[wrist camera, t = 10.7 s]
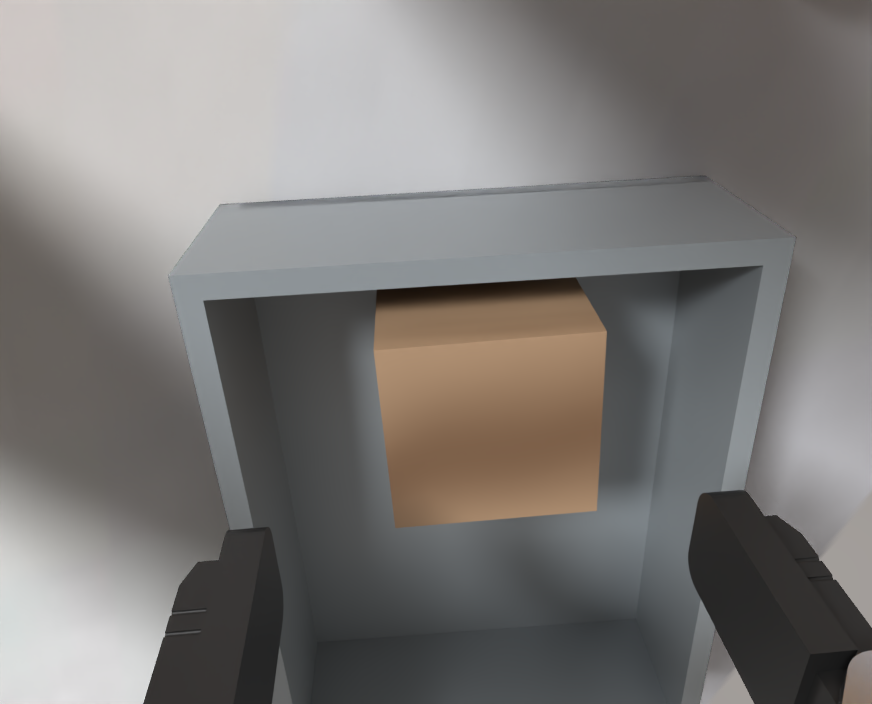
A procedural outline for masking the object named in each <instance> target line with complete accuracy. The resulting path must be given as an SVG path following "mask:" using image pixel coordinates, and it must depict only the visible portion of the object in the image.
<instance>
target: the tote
mask: <svg viewBox="0 0 872 704" xmlns="http://www.w3.org/2000/svg"><path fill="white" fill-rule="evenodd" d="M795 241H796V237H795V236H794V235H792V234H791V233H789V232H788V231H787V230H785V229H784V228H782V227H781V226H779V225H778V224H776V223H775V222H773V221H772V220H770V219H769V218H767V217H766V216H764V215H763V214H761V213H760V212H759V211H757V210H756V209H754V208H753V207H751V206H750V205H748V204H747V203H745V202H744V201H742V200H741V199H739V198H738V197H736V196H735V195H733V194H732V193H730V192H729V191H728V190H726V189H725V188H723V187H722V186H720V185H719V184H717V183H716V182H714V181H713V180H711V179H710V178H708V177H707V176H690V177H673V178H657V179H640V180H623V181H606V182H589V183H573V184H556V185H539V186H522V187H505V188H489V189H472V190H455V191H438V192H421V193H405V194H388V195H371V196H354V197H337V198H321V199H304V200H287V201H270V202H253V203H237V204H220V205H219V206H218V208H217V209H216V210H215V212H214V213H213V215H212V216H211V217H210V219H209V220H208V221H207V223H206V224H205V226H204V227H203V228H202V230H201V231H200V233H199V234H198V235H197V237H196V238H195V239H194V241H193V242H192V244H191V245H190V246H189V248H188V249H187V251H186V252H185V253H184V255H183V256H182V257H181V259H180V260H179V262H178V263H177V264H176V266H175V267H174V269H173V270H172V271H171V273H170V274H169V275H168V278H169V282H170V286H171V290H172V294H173V298H174V302H175V306H176V310H177V315H178V319H179V323H180V327H181V331H182V335H183V339H184V343H185V347H186V352H187V356H188V360H189V364H190V368H191V372H192V376H193V380H194V384H195V389H196V393H197V397H198V401H199V405H200V409H201V413H202V417H203V421H204V426H205V430H206V434H207V438H208V442H209V446H210V450H211V454H212V458H213V462H214V467H215V471H216V475H217V479H218V483H219V487H220V491H221V495H222V499H223V504H224V508H225V512H226V516H227V520H228V524H229V528H230V530H235V529H248V528H260V527H269V528H270V529H271V532H272V536H273V542H274V547H275V552H276V557H277V562H278V567H279V572H280V577H281V582H282V589H283V604H284V607H283V623H282V631H281V638H280V646H279V654H278V661H277V669H276V676H275V684H274V691H273V699H272V704H700V700H701V696H702V691H703V686H704V681H705V676H706V671H707V667H708V662H709V657H710V652H711V647H712V642H713V638H714V633H715V626H714V624H713V622H712V620H711V618H710V616H709V614H708V612H707V610H706V608H705V606H704V604H703V602H702V600H701V599H700V597H699V595H698V593H697V591H696V589H695V587H694V585H693V582H692V579H691V575H690V571H689V565H688V551H689V545H690V540H691V535H692V529H693V524H694V519H695V513H696V508H697V503H698V499H699V496H700V495H701V494H702V493H708V492H720V491H732V490H744V488H745V483H746V478H747V473H748V468H749V463H750V459H751V454H752V449H753V444H754V439H755V434H756V430H757V425H758V420H759V415H760V410H761V405H762V401H763V396H764V391H765V386H766V381H767V376H768V372H769V367H770V362H771V357H772V352H773V347H774V343H775V338H776V333H777V328H778V323H779V318H780V314H781V309H782V304H783V299H784V294H785V289H786V285H787V280H788V275H789V270H790V265H791V260H792V256H793V251H794V246H795ZM571 277H576V279H577V281H578V282H579V284H580V286H581V288H582V289H583V291H584V293H585V294H586V296H587V298H588V300H589V301H590V303H591V305H592V306H593V308H594V310H595V312H596V313H597V315H598V317H599V319H600V320H601V322H602V324H603V325H604V327H605V329H606V331H607V338H606V356H605V374H604V392H603V409H602V427H601V445H600V463H599V480H598V498H597V511H589V512H577V513H566V514H554V515H543V516H531V517H519V518H508V519H496V520H484V521H473V522H461V523H449V524H438V525H426V526H415V527H403V528H395V522H394V514H393V505H392V497H391V489H390V481H389V473H388V465H387V456H386V448H385V440H384V432H383V424H382V416H381V407H380V399H379V391H378V383H377V375H376V366H375V358H374V332H375V313H376V293H377V290H379V289H395V288H411V287H427V286H443V285H459V284H475V283H491V282H507V281H523V280H539V279H555V278H571Z"/></svg>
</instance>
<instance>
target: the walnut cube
mask: <svg viewBox="0 0 872 704" xmlns="http://www.w3.org/2000/svg"><path fill="white" fill-rule="evenodd" d="M606 338H607V331H606V329H605V327H604V325H603V324H602V322H601V320H600V319H599V317H598V315H597V313H596V312H595V310H594V308H593V306H592V305H591V303H590V301H589V300H588V298H587V296H586V294H585V293H584V291H583V289H582V288H581V286H580V284H579V282H578V281H577V279H576V277H571V278H555V279H539V280H523V281H507V282H491V283H475V284H459V285H443V286H427V287H411V288H395V289H379V290H377V293H376V313H375V332H374V358H375V366H376V375H377V383H378V391H379V399H380V407H381V416H382V424H383V432H384V440H385V448H386V456H387V465H388V473H389V481H390V489H391V497H392V505H393V514H394V522H395V528H403V527H415V526H426V525H438V524H449V523H461V522H473V521H484V520H496V519H508V518H519V517H531V516H543V515H554V514H566V513H577V512H589V511H597V498H598V480H599V463H600V445H601V427H602V409H603V392H604V374H605V356H606Z"/></svg>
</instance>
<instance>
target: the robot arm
mask: <svg viewBox="0 0 872 704" xmlns="http://www.w3.org/2000/svg"><path fill="white" fill-rule="evenodd" d="M688 565H689V571H690V575H691V579H692V582H693V585H694V587H695V589H696V591H697V593H698V595H699V597H700V599H701V600H702V602H703V604H704V606H705V608H706V610H707V612H708V614H709V616H710V618H711V620H712V622H713V624H714V626H715V628H716V630H717V632H718V634H719V636H720V638H721V639H722V641H723V643H724V645H725V647H726V649H727V651H728V653H729V655H730V657H731V659H732V661H733V663H734V665H735V667H736V669H737V671H738V673H739V674H740V676H741V678H742V680H743V682H744V684H745V686H746V688H747V690H748V692H749V694H750V696H751V698H752V700H753V702H754V704H872V628H871V627H870V625H869V624H868V622H867V621H866V620H865V618H864V617H863V616H862V614H861V613H860V612H859V610H858V609H857V607H856V606H855V605H854V603H853V602H852V601H851V599H850V598H849V597H848V596H847V594H846V593H845V591H844V590H843V589H842V587H841V586H840V585H839V583H838V582H837V581H836V580H833V578H832V574H831V573H830V571H829V570H828V569H827V567H826V566H825V565H824V563H823V562H822V561H819V558H818V555H817V554H816V553H815V551H814V550H813V548H812V547H811V546H810V544H809V543H808V542H807V540H806V539H805V538H804V536H803V535H802V534H801V533H800V532H798V531H797V530H796V529H794V528H793V527H791V526H790V525H789V524H787V523H786V522H785V521H783V520H782V519H781V518H779V517H778V516H777V515H773V516H764V515H763V514H762V512H761V511H760V509H759V508H758V507H757V505H756V504H755V502H754V501H753V499H752V498H751V497H750V495H749V494H748V493H747V492H746V491H744V490H732V491H720V492H708V493H702V494H701V495H700V496H699V499H698V503H697V508H696V513H695V519H694V524H693V529H692V535H691V540H690V545H689V551H688ZM283 607H284V604H283V589H282V582H281V577H280V572H279V567H278V562H277V557H276V552H275V547H274V542H273V536H272V532H271V529H270V528H269V527H260V528H248V529H235V530H228V531H227V532H226V535H225V538H224V542H223V546H222V549H221V553H220V557H219V560H216V561H204V562H198V563H197V564H196V565H195V566H194V568H193V569H192V570H191V571H190V573H189V574H188V575H187V577H186V578H185V579H184V580H183V582H182V583H181V584H180V585H179V588H178V592H177V595H176V598H175V602H174V605H173V608H172V616H170V618H169V621H168V624H167V628H166V631H165V638H163V641H162V644H161V647H160V651H159V654H158V657H157V661H156V664H155V667H154V670H153V674H152V677H151V680H150V683H149V687H148V690H147V693H146V697H145V700H144V703H143V704H272V699H273V691H274V684H275V676H276V669H277V661H278V654H279V646H280V638H281V631H282V623H283Z"/></svg>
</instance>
